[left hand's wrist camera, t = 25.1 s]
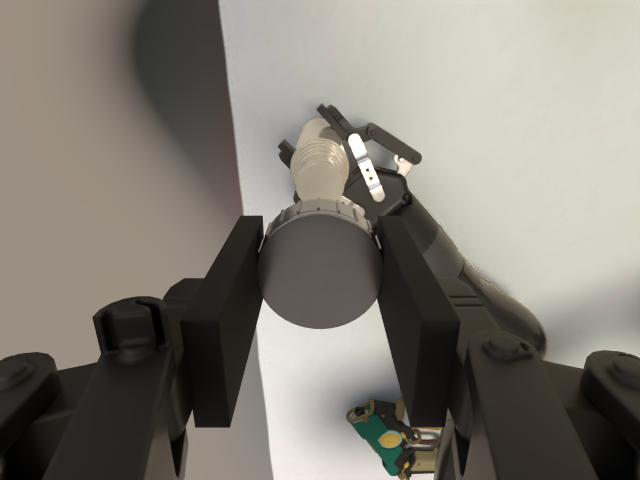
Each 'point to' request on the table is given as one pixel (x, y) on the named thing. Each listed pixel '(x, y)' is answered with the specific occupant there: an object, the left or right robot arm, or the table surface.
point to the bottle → (319, 162)
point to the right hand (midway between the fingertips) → (300, 125)
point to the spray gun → (393, 438)
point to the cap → (320, 264)
